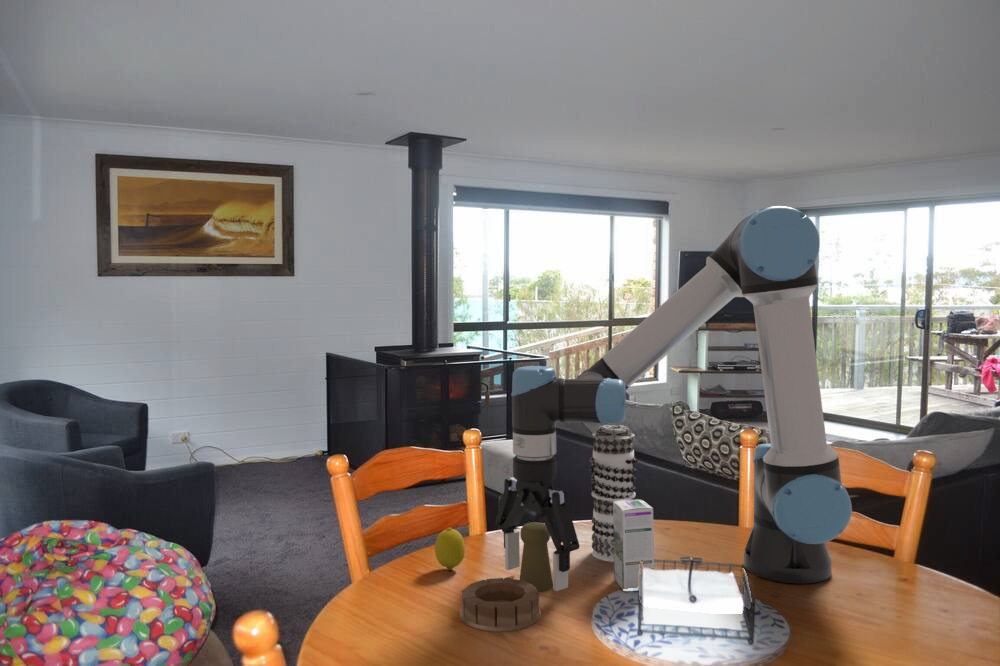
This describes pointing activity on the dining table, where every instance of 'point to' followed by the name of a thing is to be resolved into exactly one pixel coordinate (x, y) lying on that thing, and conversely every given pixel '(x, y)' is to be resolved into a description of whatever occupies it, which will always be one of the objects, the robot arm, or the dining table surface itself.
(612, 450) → the decorative candle
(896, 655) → the dining table surface
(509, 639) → the dining table surface
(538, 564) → the olive green knobbed peg
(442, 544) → the lemon
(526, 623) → the collar
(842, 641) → the dining table surface
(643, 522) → the syrup box
